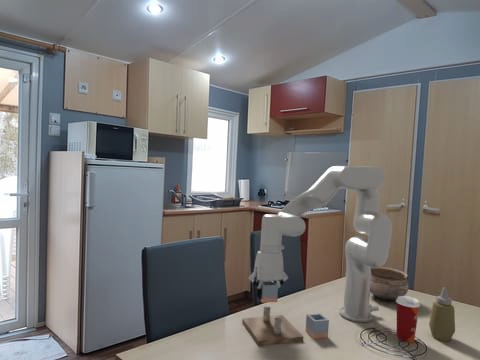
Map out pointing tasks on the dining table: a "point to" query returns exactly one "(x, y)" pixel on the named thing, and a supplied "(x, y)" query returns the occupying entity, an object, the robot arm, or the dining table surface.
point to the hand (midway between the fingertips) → (267, 297)
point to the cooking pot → (388, 283)
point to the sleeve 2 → (317, 325)
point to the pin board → (271, 329)
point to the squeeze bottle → (442, 317)
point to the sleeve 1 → (269, 292)
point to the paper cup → (407, 318)
